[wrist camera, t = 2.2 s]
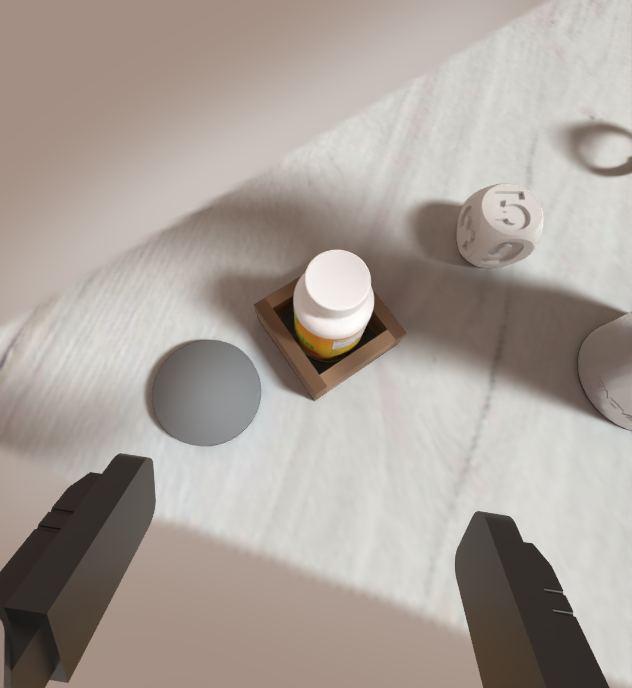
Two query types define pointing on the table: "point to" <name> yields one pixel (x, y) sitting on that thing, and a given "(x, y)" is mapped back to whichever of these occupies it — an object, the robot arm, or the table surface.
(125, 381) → the table surface
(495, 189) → the die
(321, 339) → the supplement bottle
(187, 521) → the table surface
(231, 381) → the rubber coaster
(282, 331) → the walnut collar
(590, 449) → the table surface
